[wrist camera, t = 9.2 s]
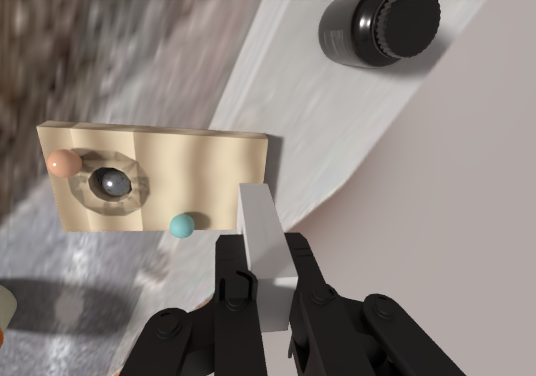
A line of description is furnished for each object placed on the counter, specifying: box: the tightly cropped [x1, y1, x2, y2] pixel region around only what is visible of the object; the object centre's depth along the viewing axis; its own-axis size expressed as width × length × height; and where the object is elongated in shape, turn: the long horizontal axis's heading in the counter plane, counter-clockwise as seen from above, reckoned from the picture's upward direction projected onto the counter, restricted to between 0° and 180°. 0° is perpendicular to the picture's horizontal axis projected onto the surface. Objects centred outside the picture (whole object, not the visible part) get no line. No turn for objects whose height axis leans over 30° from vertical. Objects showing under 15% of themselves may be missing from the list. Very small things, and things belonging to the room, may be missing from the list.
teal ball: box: [170, 214, 195, 238], centre depth 35 cm, size 3×3×3 cm
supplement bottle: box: [318, 0, 441, 68], centre depth 27 cm, size 7×7×12 cm
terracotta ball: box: [46, 149, 82, 178], centre depth 29 cm, size 3×3×3 cm
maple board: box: [37, 121, 268, 232], centre depth 35 cm, size 24×13×2 cm, turn 83°
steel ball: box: [102, 169, 132, 196], centre depth 33 cm, size 3×3×3 cm
